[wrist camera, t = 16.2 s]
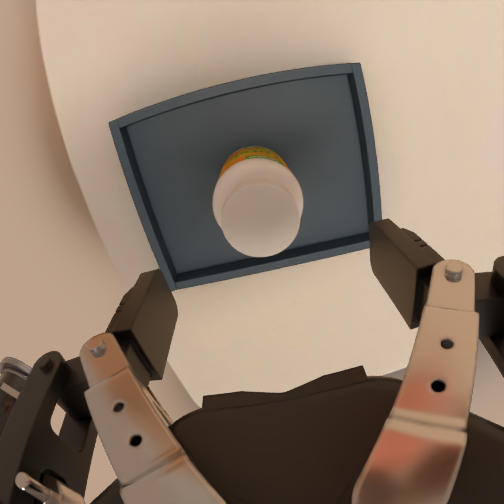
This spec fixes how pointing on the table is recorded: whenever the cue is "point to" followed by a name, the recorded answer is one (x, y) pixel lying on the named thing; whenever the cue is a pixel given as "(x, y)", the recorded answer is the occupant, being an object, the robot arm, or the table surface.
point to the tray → (243, 135)
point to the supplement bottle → (257, 202)
